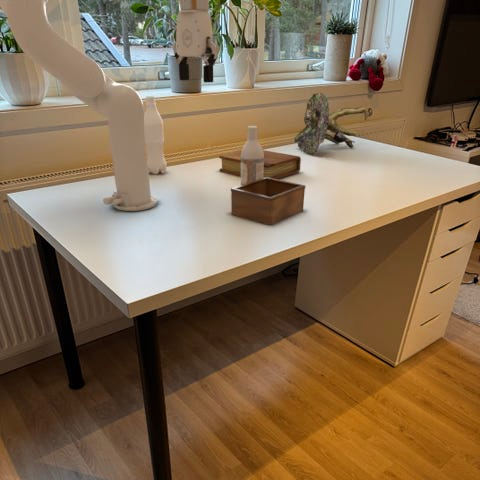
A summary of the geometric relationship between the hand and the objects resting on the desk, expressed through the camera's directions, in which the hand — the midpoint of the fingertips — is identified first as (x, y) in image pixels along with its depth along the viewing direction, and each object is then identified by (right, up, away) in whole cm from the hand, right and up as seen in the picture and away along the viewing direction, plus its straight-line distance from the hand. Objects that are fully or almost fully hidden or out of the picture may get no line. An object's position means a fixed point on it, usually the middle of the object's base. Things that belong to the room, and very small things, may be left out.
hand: (196, 81), depth 125 cm
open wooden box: (+20, -36, +2) cm, 41 cm away
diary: (+19, -12, +40) cm, 46 cm away
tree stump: (+50, +10, +75) cm, 91 cm away
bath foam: (+16, -28, +16) cm, 36 cm away
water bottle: (-18, -13, +40) cm, 45 cm away
